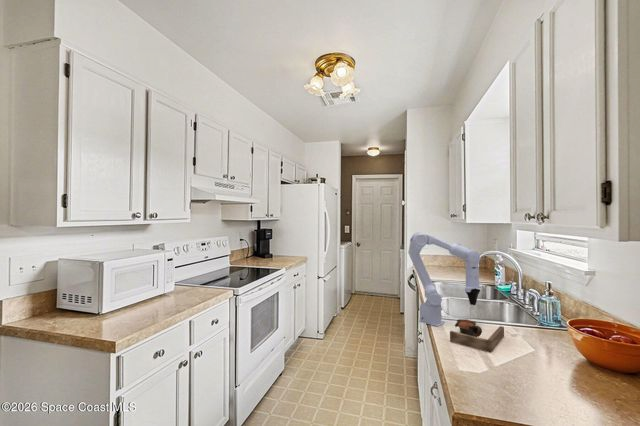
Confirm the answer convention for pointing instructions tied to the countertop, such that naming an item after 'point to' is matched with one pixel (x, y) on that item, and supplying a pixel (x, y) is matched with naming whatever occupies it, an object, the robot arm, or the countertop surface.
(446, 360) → the countertop surface
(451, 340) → the walnut corner walls
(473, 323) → the pottery mug
